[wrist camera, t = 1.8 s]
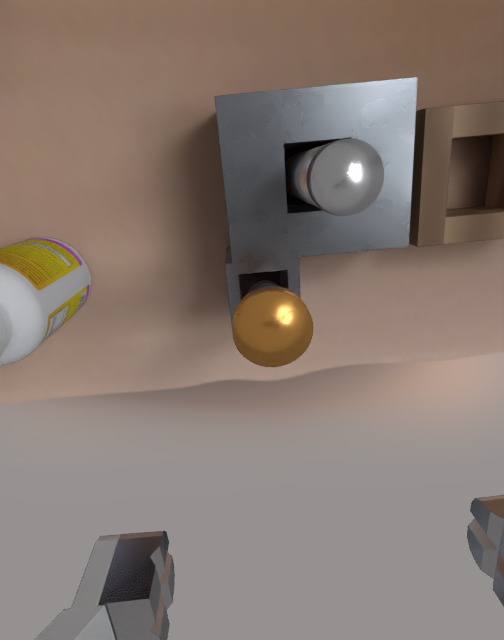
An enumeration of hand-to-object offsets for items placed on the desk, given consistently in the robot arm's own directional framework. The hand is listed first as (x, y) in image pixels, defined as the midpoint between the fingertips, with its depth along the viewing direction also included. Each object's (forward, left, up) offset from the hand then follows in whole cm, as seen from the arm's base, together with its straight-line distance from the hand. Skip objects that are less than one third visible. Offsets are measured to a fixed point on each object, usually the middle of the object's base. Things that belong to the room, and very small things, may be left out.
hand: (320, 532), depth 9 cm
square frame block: (-16, -6, -26) cm, 31 cm away
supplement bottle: (+17, -1, -26) cm, 31 cm away
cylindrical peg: (-4, -7, -26) cm, 27 cm away
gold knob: (0, 0, -19) cm, 19 cm away
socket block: (-4, -5, -26) cm, 26 cm away
